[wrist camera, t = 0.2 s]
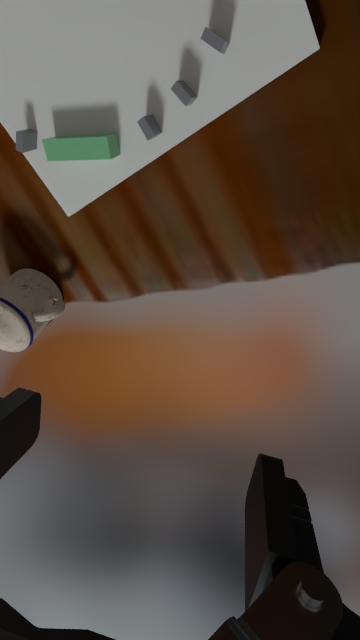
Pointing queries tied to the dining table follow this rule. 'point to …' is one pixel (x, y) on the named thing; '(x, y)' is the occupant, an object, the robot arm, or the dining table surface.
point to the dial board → (132, 78)
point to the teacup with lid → (27, 308)
